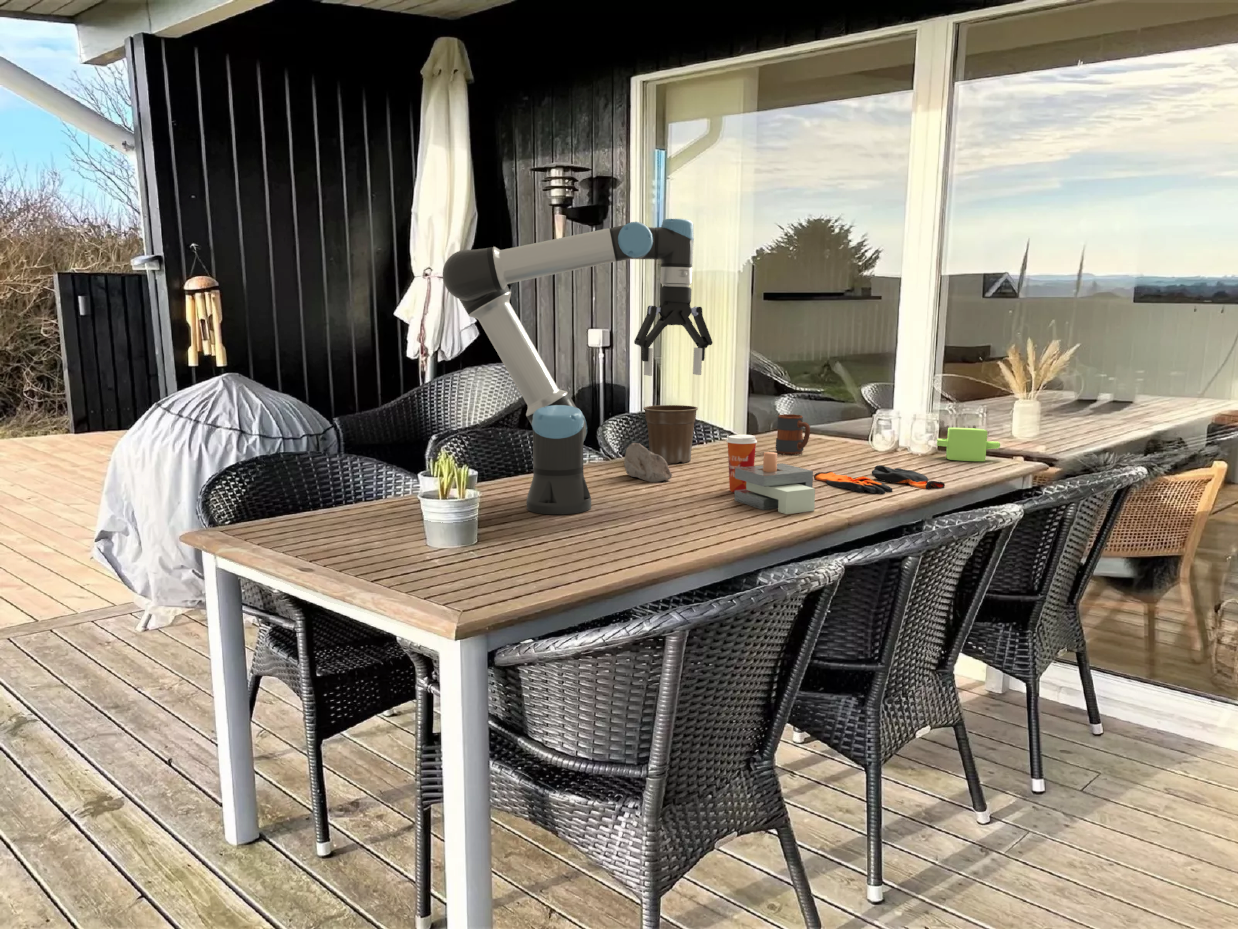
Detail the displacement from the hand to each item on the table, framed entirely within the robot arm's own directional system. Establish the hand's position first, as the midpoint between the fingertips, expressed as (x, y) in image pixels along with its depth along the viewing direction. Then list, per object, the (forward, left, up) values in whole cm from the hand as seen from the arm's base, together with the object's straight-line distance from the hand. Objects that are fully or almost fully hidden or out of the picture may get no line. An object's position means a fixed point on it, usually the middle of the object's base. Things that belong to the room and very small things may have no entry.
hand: (672, 375), depth 239 cm
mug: (+67, +40, -30) cm, 83 cm away
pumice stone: (+6, +24, -30) cm, 39 cm away
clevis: (+17, -17, -30) cm, 39 cm away
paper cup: (+19, -2, -30) cm, 36 cm away
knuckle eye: (+17, -21, -30) cm, 40 cm away
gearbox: (+107, +7, -30) cm, 111 cm away
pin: (+17, -17, -30) cm, 38 cm away
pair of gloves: (+57, -10, -31) cm, 65 cm away
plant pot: (+26, +46, -30) cm, 61 cm away
